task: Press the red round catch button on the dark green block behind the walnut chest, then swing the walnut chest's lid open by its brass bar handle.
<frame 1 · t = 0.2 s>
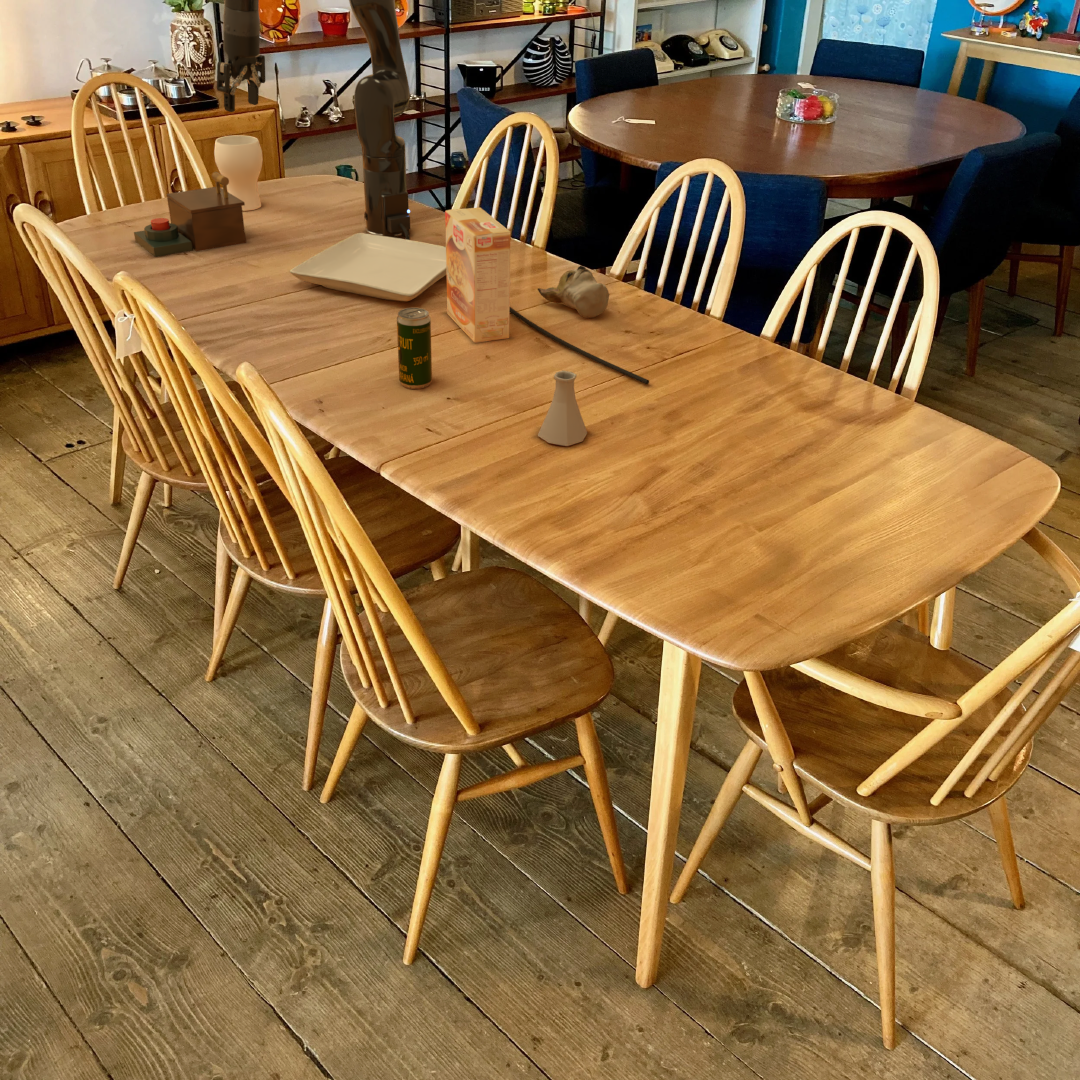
hand: (241, 107, 246), 22 cm above the table, tool pointing down, fingers open, 8 cm apart
flask: (562, 436, 167), on the table
chest lid: (204, 189, 234), point 11 cm above the table, hinge at 0.0°
green soda can: (415, 383, 181), on the table
coffeecake box: (477, 327, 203), on the table
square plate: (384, 278, 222), on the table
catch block: (163, 246, 234), on the table
catch button: (160, 224, 232), point 5 cm above the table, slide at 0.1 cm
cup: (244, 207, 260), on the table
chest: (209, 238, 239), on the table
ceramic sculpture: (577, 309, 211), on the table
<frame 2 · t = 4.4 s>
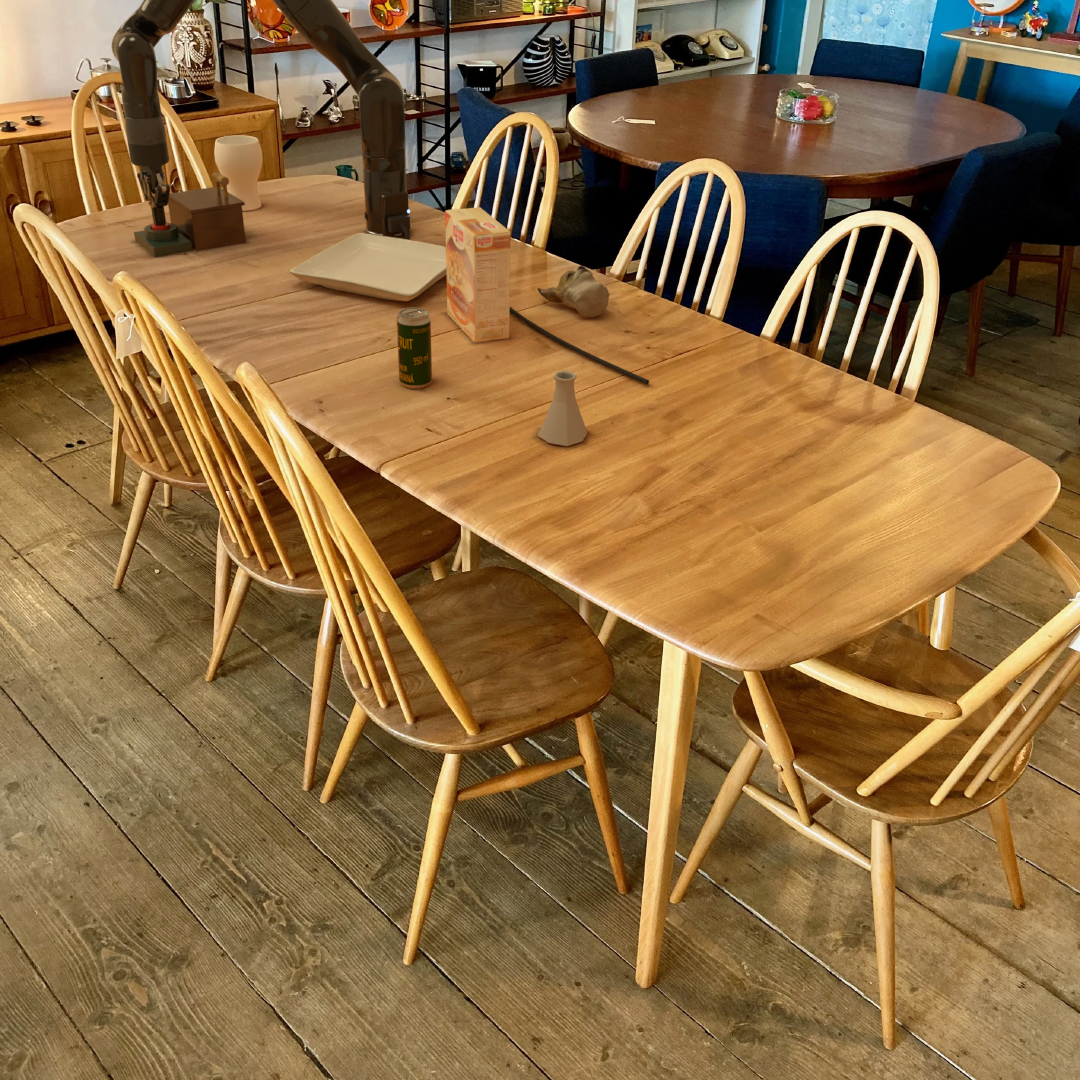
hand: (159, 224, 232), 5 cm above the table, tool pointing down, fingers closed
catch button: (161, 228, 232), point 4 cm above the table, slide at -0.7 cm, touching gripper
everything else where it was.
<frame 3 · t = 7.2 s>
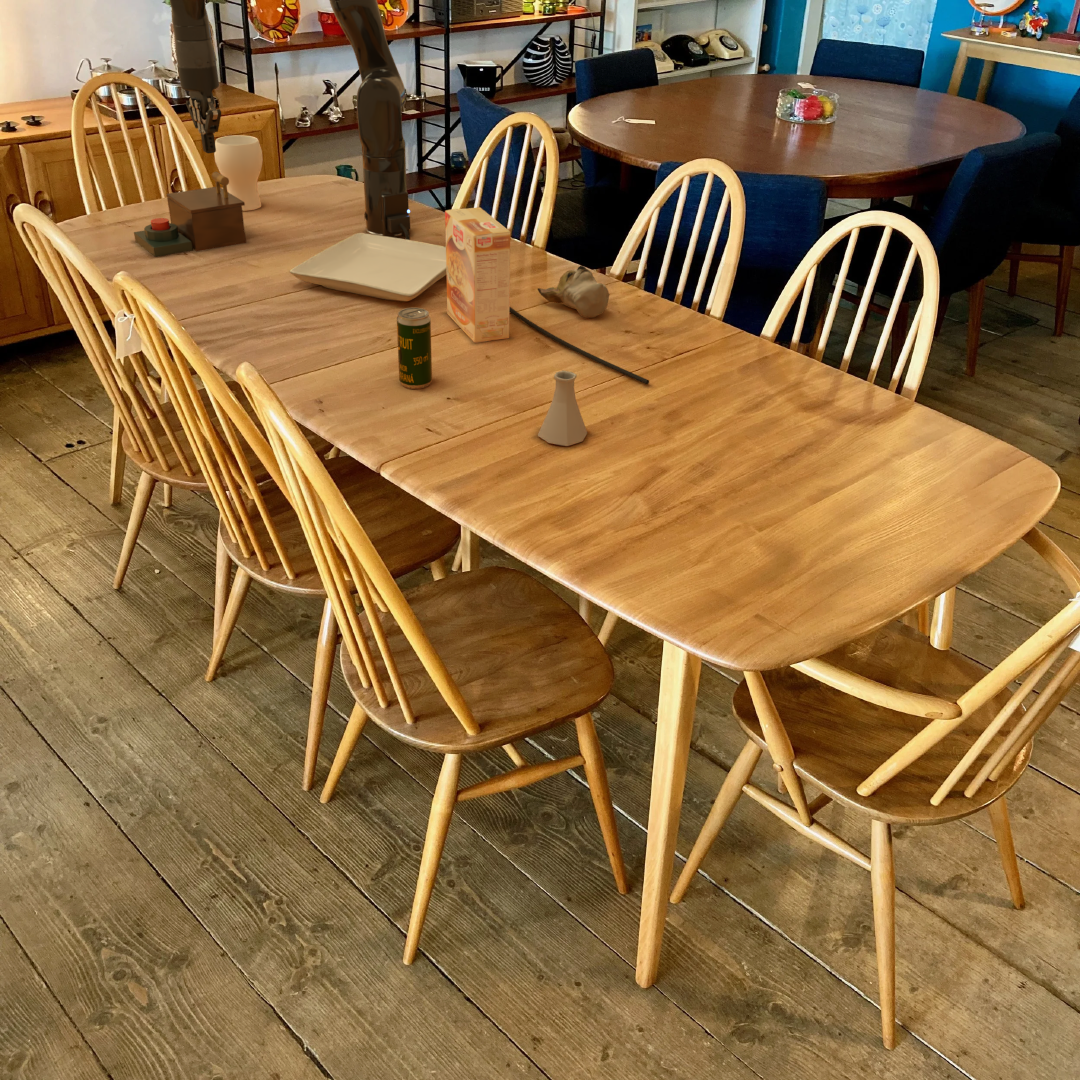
hand: (209, 152, 230), 18 cm above the table, tool pointing down, fingers closed
catch button: (160, 224, 232), point 5 cm above the table, slide at 0.1 cm
everything else where it was.
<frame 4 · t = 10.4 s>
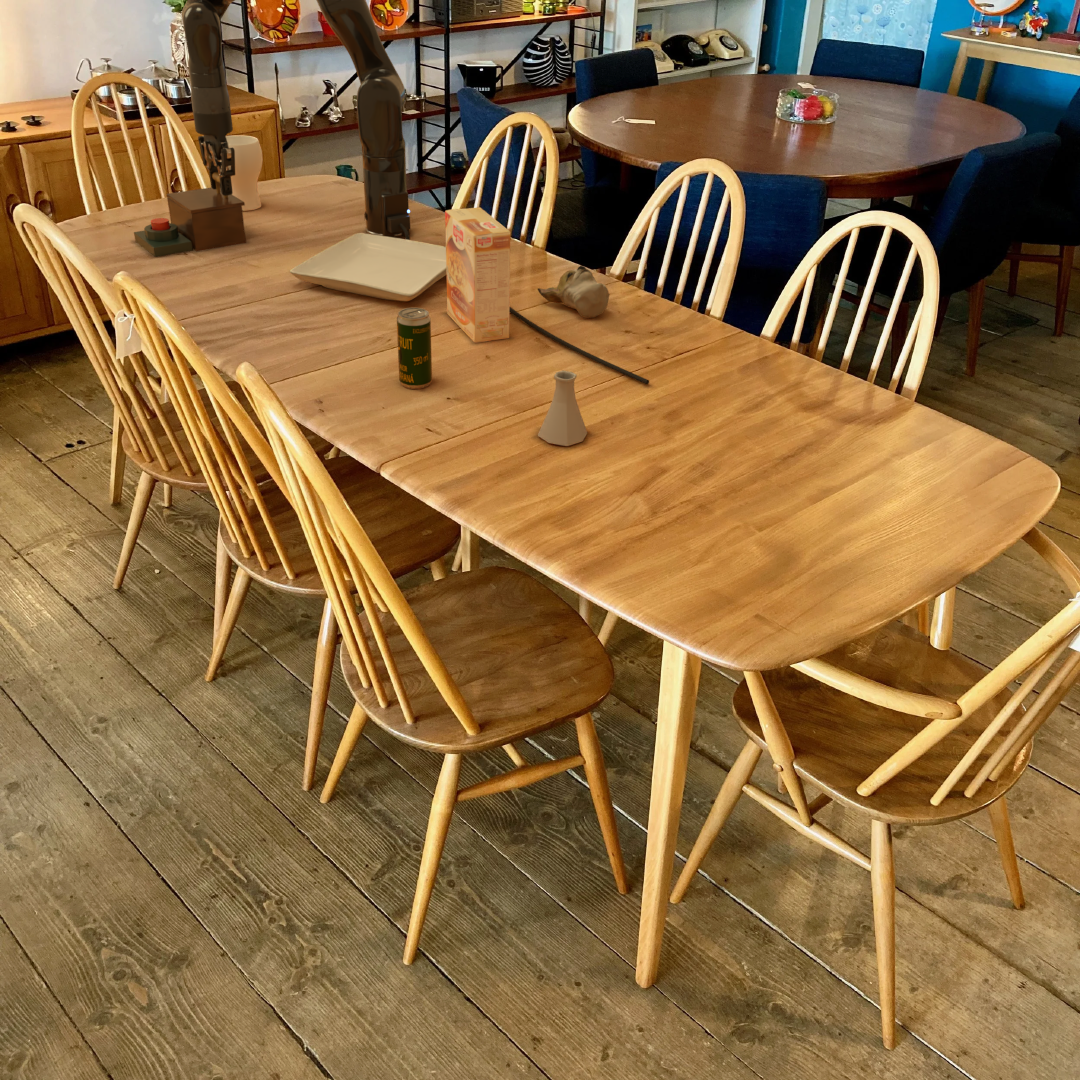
hand: (221, 191, 236), 10 cm above the table, tool pointing down, fingers closed on chest lid, 5 cm apart
chest lid: (204, 189, 234), point 10 cm above the table, hinge at 0.0°, touching gripper
everything else where it was.
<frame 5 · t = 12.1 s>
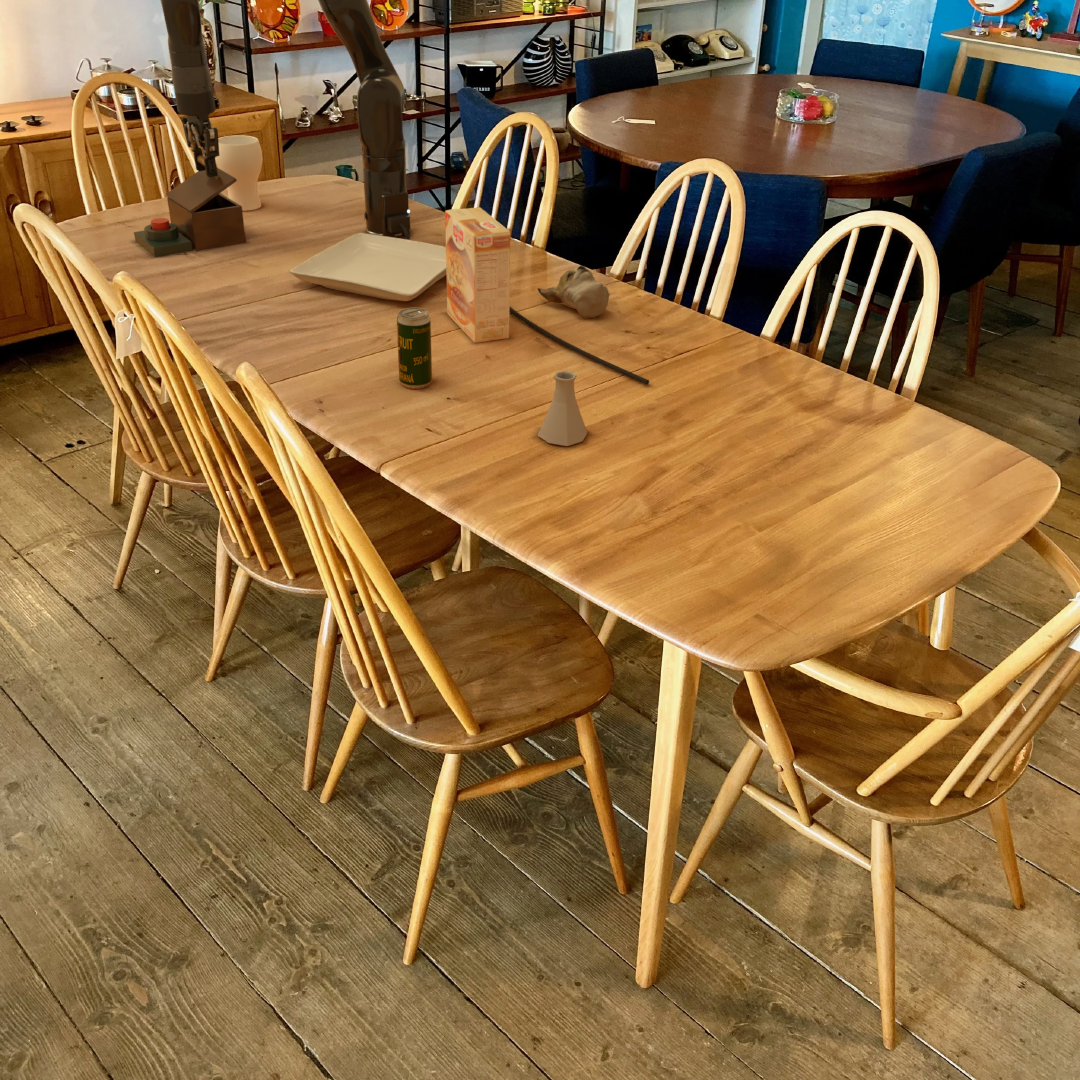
hand: (206, 172, 233), 14 cm above the table, tool pointing down, fingers closed on chest lid, 5 cm apart
chest lid: (195, 178, 232), point 13 cm above the table, hinge at 26.5°, touching gripper
everything else where it was.
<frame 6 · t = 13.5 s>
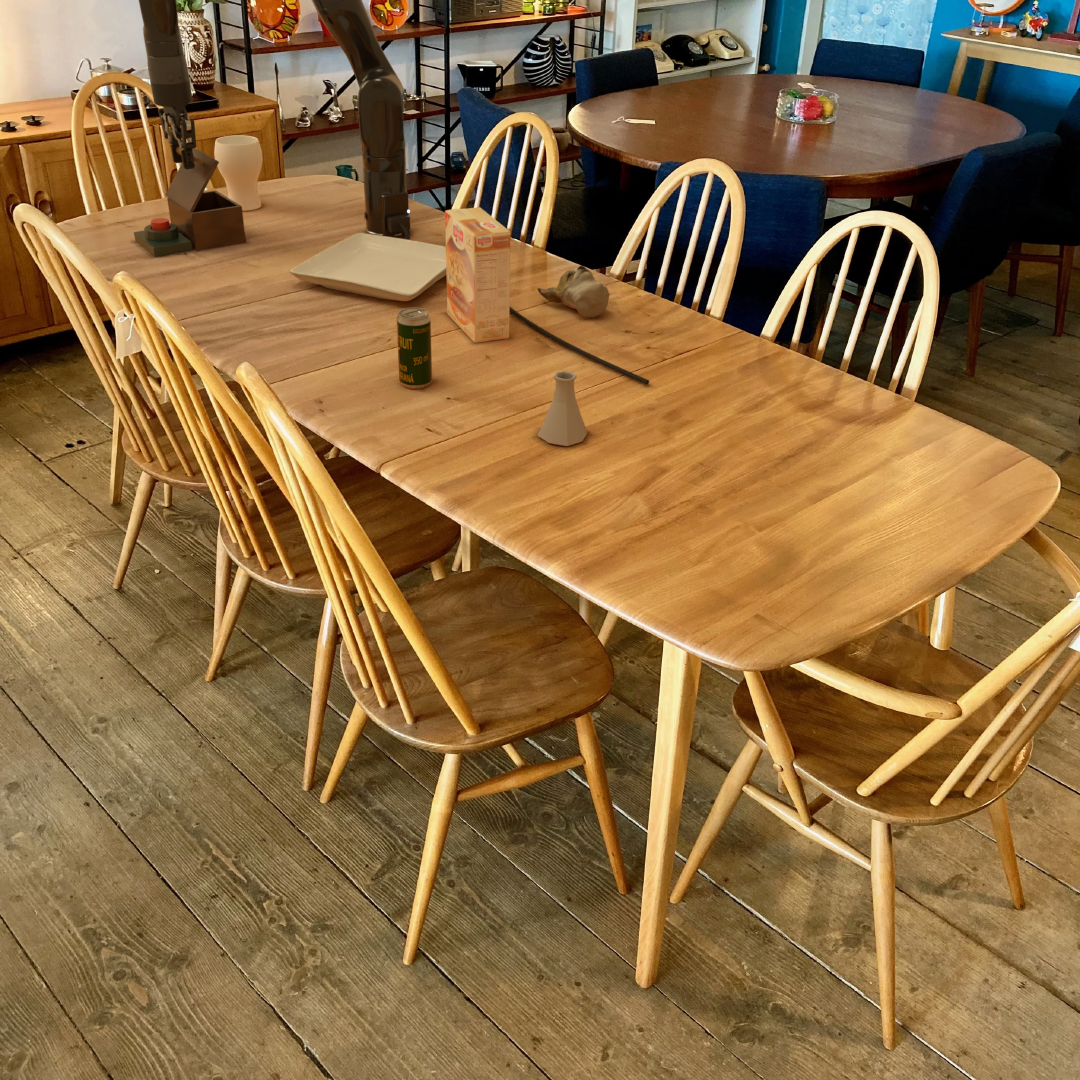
hand: (184, 165, 229), 16 cm above the table, tool pointing down, fingers closed on chest lid, 5 cm apart
chest lid: (182, 173, 230), point 14 cm above the table, hinge at 53.0°, touching gripper
everything else where it was.
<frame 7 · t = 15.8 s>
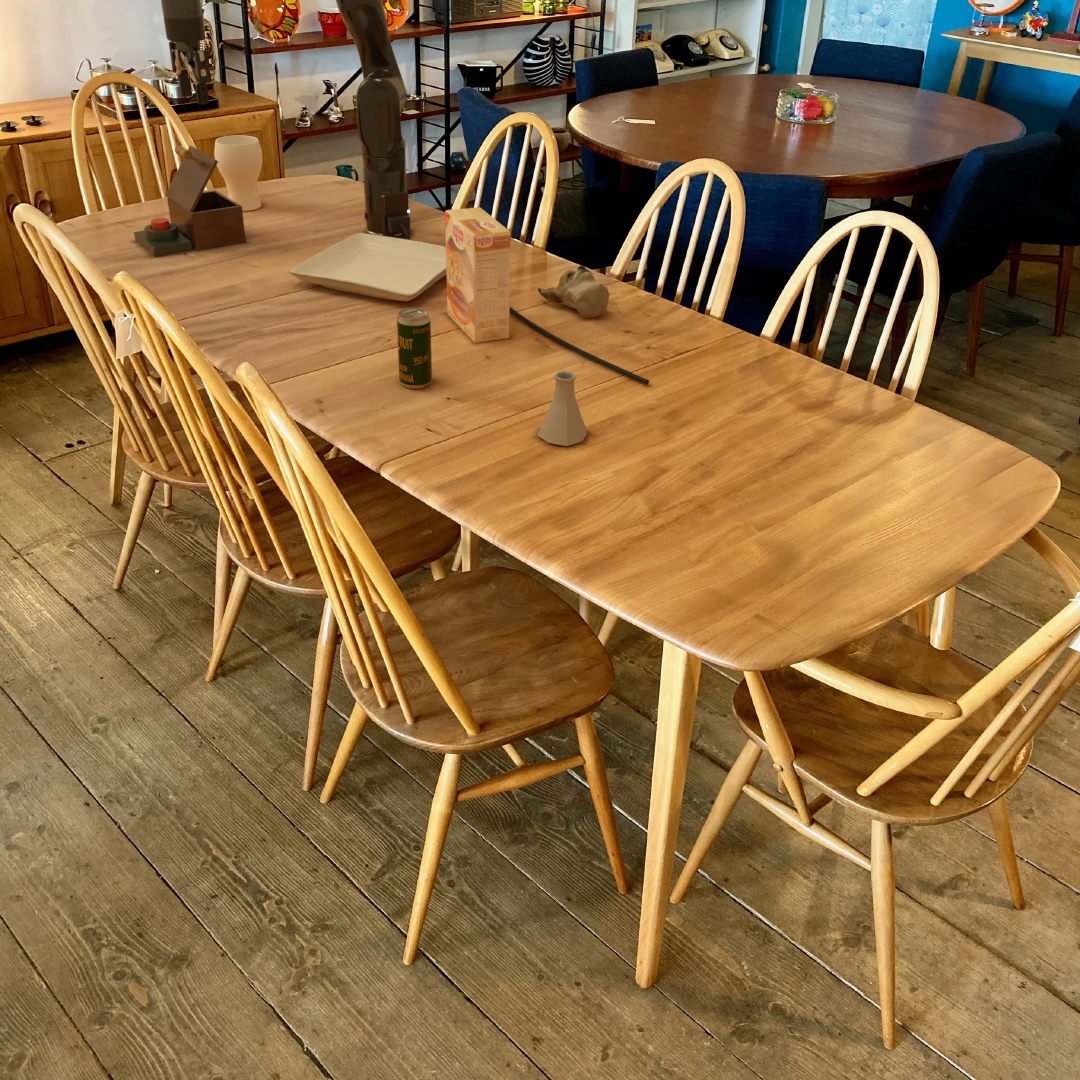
hand: (195, 100, 228), 28 cm above the table, tool pointing down, fingers open, 8 cm apart
chest lid: (182, 173, 230), point 14 cm above the table, hinge at 54.1°
everything else where it was.
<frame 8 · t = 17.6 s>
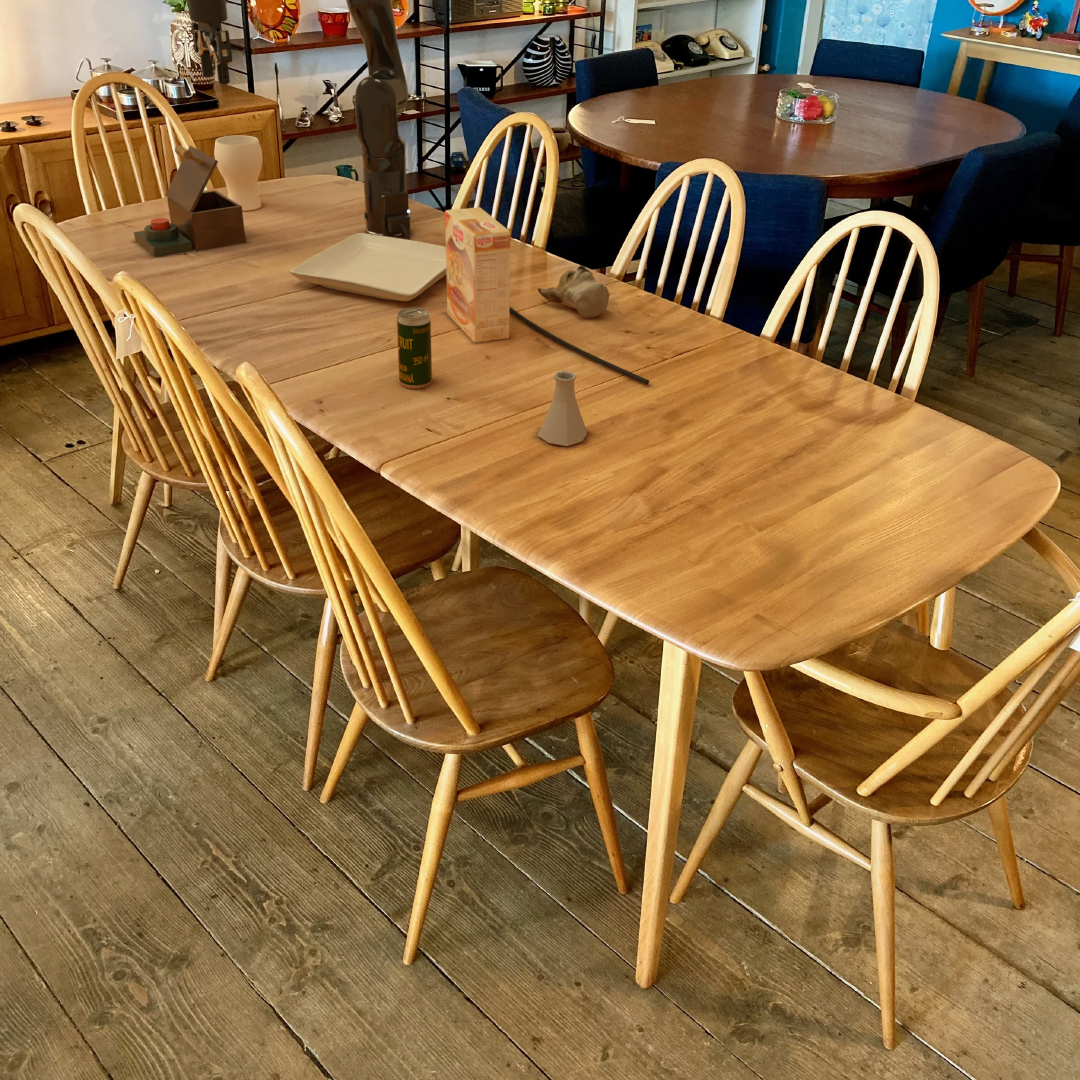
hand: (216, 80, 233), 30 cm above the table, tool pointing down, fingers open, 8 cm apart
nothing on the table moved.
at the end: catch button pushed in 1.0 cm at the most during the clip, back to where it started at the end; catch button slide at 0.1 cm; chest lid at +54° (first picture: +0°) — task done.
